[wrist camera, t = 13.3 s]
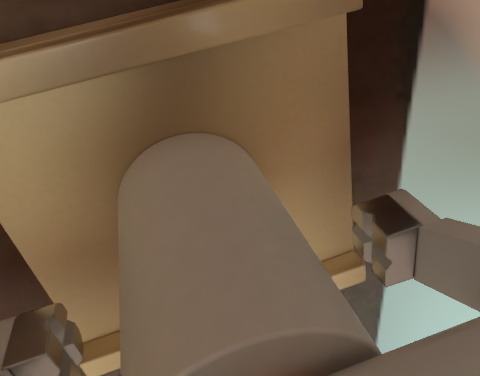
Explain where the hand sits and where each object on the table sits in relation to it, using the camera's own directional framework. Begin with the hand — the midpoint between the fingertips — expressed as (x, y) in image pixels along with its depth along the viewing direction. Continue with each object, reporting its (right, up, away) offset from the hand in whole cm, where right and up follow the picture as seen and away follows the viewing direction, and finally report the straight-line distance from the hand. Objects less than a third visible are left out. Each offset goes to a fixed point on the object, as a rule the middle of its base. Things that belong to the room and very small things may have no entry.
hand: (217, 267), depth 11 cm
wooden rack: (-1, +3, +4) cm, 5 cm away
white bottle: (-1, +2, +3) cm, 4 cm away
